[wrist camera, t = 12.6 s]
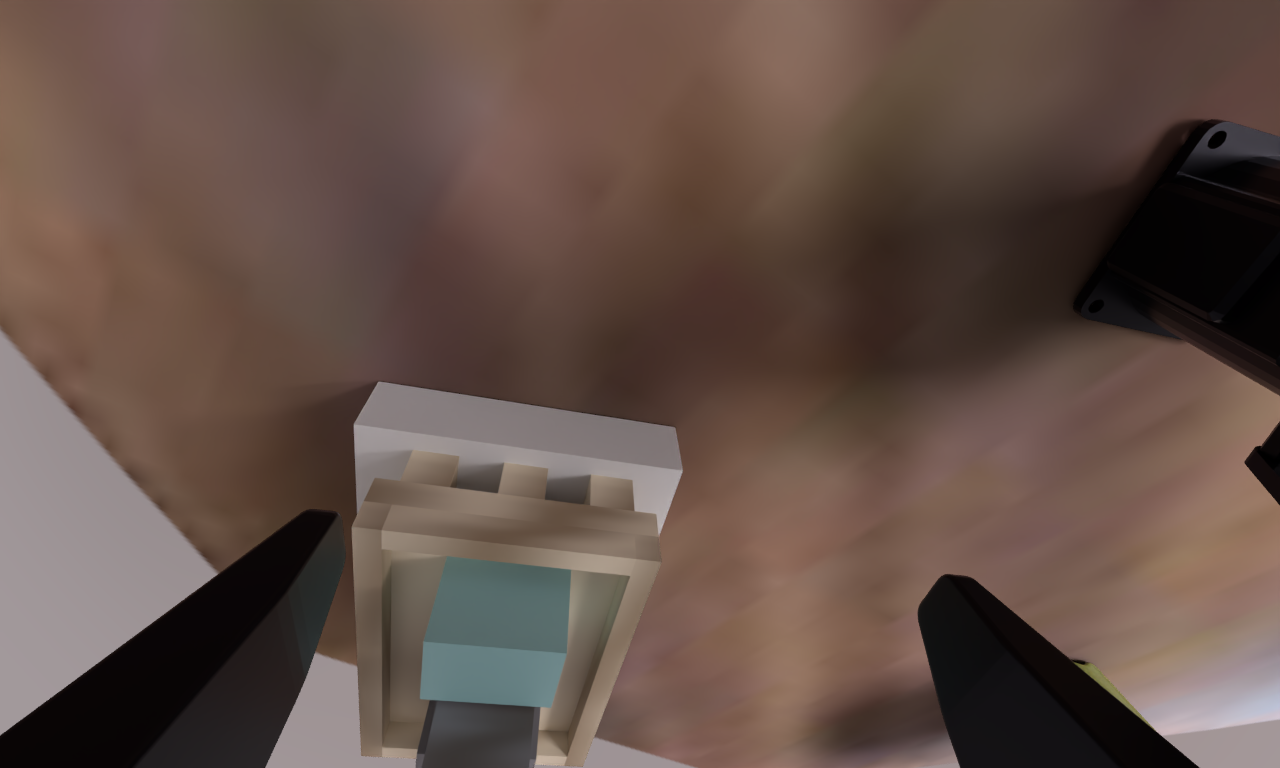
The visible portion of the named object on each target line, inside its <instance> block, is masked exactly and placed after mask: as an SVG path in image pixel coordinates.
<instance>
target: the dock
mask: <svg viewBox="0 0 1280 768" xmlns="http://www.w3.org/2000/svg"><path fill="white" fill-rule="evenodd" d="M354 445H355V471H356V497H357V514H358V512H359V510H360V508H361V506H362V504H363V501H364V499H365V497H366V495H367V493H368V491H369V489H370V487H371V484H372V482H373V480H374V478H381V479H389V480H397V481H400V480H401V478H402V475H403V473H404V470H405V468H406V465H407V463H408V461H409V458H410V456H411V453H412V451H413V450H418V451H426V452H433V453H440V454H447V455H455V456H459V465H458V476H457V487H456V488H459V489H467V490H474V491H482V492H490V493H498V491H499V486H500V481H501V476H502V471H503V466H504V462H505V463H512V464H520V465H527V466H534V467H541V468H548V475H547V484H546V493H545V500H552V501H560V502H567V503H575V504H583V503H584V499H585V495H586V492H587V488H588V484H589V480H590V476H591V474H592V475H599V476H606V477H614V478H621V479H628V480H633V495H634V509H635V511H637V512H645V513H653V514H656V516H657V525H658V534H659V535H660V532H661V529H662V527H663V524H664V521H665V518H666V516H667V513H668V510H669V507H670V505H671V502H672V499H673V496H674V494H675V491H676V488H677V486H678V483H679V480H680V477H681V475H682V472H683V468H682V463H681V457H680V451H679V446H678V440H677V434H676V429H675V427H670V426H664V425H657V424H651V423H644V422H638V421H631V420H625V419H618V418H612V417H606V416H599V415H593V414H586V413H580V412H573V411H567V410H560V409H554V408H547V407H541V406H534V405H528V404H521V403H515V402H508V401H502V400H496V399H489V398H483V397H476V396H470V395H463V394H457V393H450V392H444V391H437V390H431V389H424V388H418V387H411V386H405V385H398V384H392V383H386V382H378V383H377V385H376V387H375V388H374V390H373V392H372V394H371V395H370V397H369V399H368V400H367V402H366V404H365V406H364V407H363V409H362V411H361V413H360V414H359V416H358V418H357V419H356V421H355V423H354Z"/></svg>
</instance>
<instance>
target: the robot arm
mask: <svg viewBox="0 0 1280 768" xmlns="http://www.w3.org/2000/svg"><path fill="white" fill-rule="evenodd" d="M1214 133H1215V135H1214V137H1213V139H1212V140H1211V141H1210V142H1209V143H1208V141H1209V139H1210V137H1211V136H1212V135H1213V134H1214ZM1094 301H1095V302H1094ZM1092 302H1094V303H1093V304H1092V305H1091V306H1090V304H1091V303H1092ZM1089 306H1090V307H1089ZM1073 309H1074V311H1075V312H1076V313H1078V314H1079V315H1081V316H1082V317H1084V318H1086V319H1089V320H1094V321H1098V322H1103V323H1108V324H1112V325H1117V326H1122V327H1126V328H1131V329H1135V330H1140V331H1145V332H1149V333H1154V334H1159V335H1163V336H1168V337H1172V338H1177V339H1182V340H1185V341H1186V342H1188V343H1190V344H1192V345H1193V346H1195V347H1197V348H1198V349H1200V350H1202V351H1204V352H1205V353H1207V354H1209V355H1210V356H1212V357H1214V358H1216V359H1217V360H1219V361H1221V362H1222V363H1224V364H1226V365H1228V366H1229V367H1231V368H1233V369H1234V370H1236V371H1238V372H1240V373H1241V374H1243V375H1245V376H1246V377H1248V378H1250V379H1252V380H1253V381H1255V382H1257V383H1259V384H1260V385H1262V386H1264V387H1265V388H1267V389H1269V390H1271V391H1272V392H1274V393H1276V394H1277V395H1279V396H1280V137H1278V136H1275V135H1272V134H1269V133H1265V132H1262V131H1259V130H1255V129H1252V128H1249V127H1245V126H1242V125H1239V124H1235V123H1232V122H1228V121H1223V120H1216V119H1211V120H1209V121H1206V122H1204V123H1202V124H1201V125H1200V126H1198V127H1197V128H1196V129H1195V130H1194V132H1193V133H1192V134H1191V135H1190V137H1189V138H1188V140H1187V141H1186V142H1185V144H1184V145H1183V147H1182V148H1181V150H1180V151H1179V152H1178V154H1177V155H1176V157H1175V158H1174V160H1173V161H1172V162H1171V164H1170V165H1169V167H1168V168H1167V170H1166V171H1165V172H1164V174H1163V175H1162V177H1161V178H1160V180H1159V181H1158V182H1157V184H1156V185H1155V187H1154V188H1153V190H1152V191H1151V192H1150V194H1149V195H1148V197H1147V198H1146V200H1145V201H1144V202H1143V204H1142V205H1141V207H1140V208H1139V210H1138V211H1137V212H1136V214H1135V215H1134V217H1133V218H1132V220H1131V221H1130V222H1129V224H1128V225H1127V227H1126V228H1125V230H1124V231H1123V232H1122V234H1121V235H1120V237H1119V238H1118V240H1117V241H1116V242H1115V244H1114V245H1113V247H1112V248H1111V249H1110V251H1109V252H1108V254H1107V255H1106V257H1105V258H1104V259H1103V261H1102V262H1101V264H1100V265H1099V267H1098V268H1097V269H1096V271H1095V272H1094V274H1093V275H1092V277H1091V278H1090V279H1089V281H1088V282H1087V284H1086V285H1085V287H1084V288H1083V289H1082V291H1081V292H1080V294H1079V295H1078V297H1077V298H1076V300H1075V302H1074V305H1073ZM1245 464H1246V466H1247V467H1248V468H1249V469H1250V470H1251V472H1252V473H1253V474H1254V475H1255V476H1256V477H1257V479H1258V480H1259V481H1260V482H1261V483H1262V485H1263V486H1264V487H1265V488H1266V489H1267V491H1268V492H1269V493H1270V494H1271V495H1272V497H1273V498H1274V499H1275V500H1276V501H1277V503H1278V504H1279V505H1280V422H1279V423H1278V424H1277V426H1276V427H1275V428H1274V430H1273V431H1272V432H1271V434H1270V435H1269V436H1268V438H1267V439H1266V440H1265V442H1264V443H1263V444H1262V446H1257V447H1255V448H1254V450H1253V451H1252V452H1251V454H1250V455H1249V456H1248V458H1247V459H1246V460H1245ZM345 555H346V550H345V541H344V532H343V523H342V517H341V515H340V514H339V513H338V512H335V511H327V510H317V509H309V510H306V511H304V512H302V513H300V514H299V515H298V516H296V517H295V518H294V519H292V520H291V521H290V522H288V523H287V524H285V525H284V526H283V527H281V528H280V529H279V530H277V531H276V532H275V533H273V534H272V535H271V536H269V537H268V538H267V539H265V540H264V541H262V542H261V543H260V544H258V545H257V546H256V547H254V548H253V549H252V550H250V551H249V552H248V553H246V554H245V555H244V556H242V557H241V558H240V559H238V560H237V561H235V562H234V563H233V564H231V565H230V566H229V567H227V568H226V569H225V570H223V571H222V572H221V573H219V574H218V575H217V576H215V577H214V578H212V579H211V580H210V581H208V582H207V583H206V584H204V585H203V586H202V587H201V588H199V589H198V590H196V591H195V592H194V593H192V594H191V595H189V596H188V597H187V598H185V599H184V600H183V601H181V602H180V603H179V604H177V605H176V606H175V607H173V608H172V609H171V610H169V611H168V612H167V613H165V614H164V615H163V616H161V617H160V618H158V619H157V620H156V621H154V622H153V623H152V624H150V625H149V626H148V627H146V628H145V629H144V630H142V631H141V632H139V633H138V634H137V635H135V636H134V637H133V638H132V639H130V640H129V641H127V642H126V643H125V644H123V645H122V646H121V647H119V648H118V649H116V650H115V651H114V652H113V653H111V654H110V655H108V656H107V657H106V658H104V659H103V660H102V661H100V662H99V663H98V664H96V665H95V666H94V667H92V668H91V669H89V670H88V671H87V672H86V673H84V674H83V675H81V676H80V677H79V678H77V679H76V680H75V681H73V682H72V683H71V684H69V685H68V686H66V687H65V688H64V689H63V690H61V691H60V692H58V693H57V694H56V695H54V696H53V697H52V698H50V699H49V700H48V701H46V702H45V703H43V704H42V705H41V706H39V707H38V708H37V709H36V710H34V711H33V712H31V713H30V714H29V715H27V716H26V717H25V718H23V719H22V720H20V721H19V722H18V723H16V724H15V725H14V726H12V727H11V728H10V729H8V730H7V731H6V732H4V733H3V734H2V735H1V736H0V768H265V767H266V765H267V762H268V760H269V758H270V756H271V753H272V751H273V749H274V747H275V745H276V743H277V741H278V739H279V736H280V734H281V732H282V730H283V728H284V726H285V724H286V721H287V719H288V717H289V715H290V713H291V711H292V708H293V706H294V704H295V702H296V700H297V698H298V695H299V693H300V691H301V688H302V686H303V683H304V681H305V679H306V676H307V673H308V671H309V668H310V665H311V662H312V659H313V656H314V653H315V650H316V648H317V645H318V642H319V639H320V636H321V633H322V630H323V627H324V624H325V621H326V618H327V615H328V612H329V609H330V606H331V603H332V600H333V597H334V594H335V591H336V588H337V585H338V582H339V579H340V576H341V573H342V570H343V567H344V563H345ZM918 622H919V626H920V630H921V634H922V638H923V642H924V646H925V650H926V654H927V658H928V662H929V665H930V669H931V673H932V677H933V681H934V685H935V689H936V693H937V697H938V701H939V705H940V708H941V712H942V715H943V719H944V722H945V725H946V728H947V731H948V734H949V737H950V740H951V743H952V746H953V749H954V751H955V754H956V757H957V760H958V763H959V765H960V768H1199V767H1198V766H1197V765H1196V764H1194V763H1193V762H1192V761H1191V760H1190V759H1189V758H1187V757H1186V756H1185V755H1184V754H1183V753H1181V752H1180V751H1179V750H1178V749H1177V748H1175V747H1174V746H1173V745H1172V744H1171V743H1169V742H1168V741H1167V740H1166V739H1164V738H1163V737H1162V736H1161V735H1160V734H1159V733H1157V732H1156V731H1155V730H1154V729H1153V728H1151V727H1150V726H1149V725H1148V724H1147V723H1145V722H1144V721H1143V720H1142V719H1141V718H1139V717H1138V716H1137V715H1136V714H1135V713H1133V712H1132V711H1131V710H1130V709H1129V708H1128V707H1126V706H1125V705H1124V704H1123V703H1122V702H1120V701H1119V700H1118V699H1117V698H1116V697H1114V696H1113V695H1112V694H1111V693H1110V692H1108V691H1107V690H1106V689H1105V688H1104V687H1102V686H1101V685H1100V684H1099V683H1098V682H1096V681H1095V680H1094V679H1093V678H1092V677H1090V676H1089V675H1088V674H1087V673H1086V672H1084V671H1083V670H1082V669H1081V668H1080V667H1078V666H1077V665H1076V664H1075V663H1074V662H1073V661H1071V660H1070V659H1069V658H1068V657H1067V656H1065V655H1064V654H1063V653H1062V652H1061V651H1059V650H1058V649H1057V648H1056V647H1055V646H1053V645H1052V644H1051V643H1050V642H1049V641H1047V640H1046V639H1045V638H1044V637H1043V636H1041V635H1040V634H1039V633H1038V632H1037V631H1035V630H1034V629H1033V628H1032V627H1031V626H1029V625H1028V624H1027V623H1026V622H1025V621H1023V620H1022V619H1021V618H1020V617H1019V616H1017V615H1016V614H1015V613H1014V612H1013V611H1012V610H1010V609H1009V608H1008V607H1007V606H1006V605H1004V604H1003V603H1002V602H1001V601H1000V600H998V599H997V598H996V597H995V596H994V595H992V594H991V593H990V592H989V591H988V590H986V589H985V588H984V587H983V586H982V585H980V584H979V583H978V582H977V581H976V580H974V579H973V578H971V577H968V576H962V575H953V574H945V575H943V576H941V577H940V578H939V579H938V580H937V582H936V583H935V584H934V586H933V587H932V588H931V590H930V591H929V592H928V594H927V595H926V596H925V598H924V599H923V600H922V602H921V603H920V605H919V608H918Z"/></svg>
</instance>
